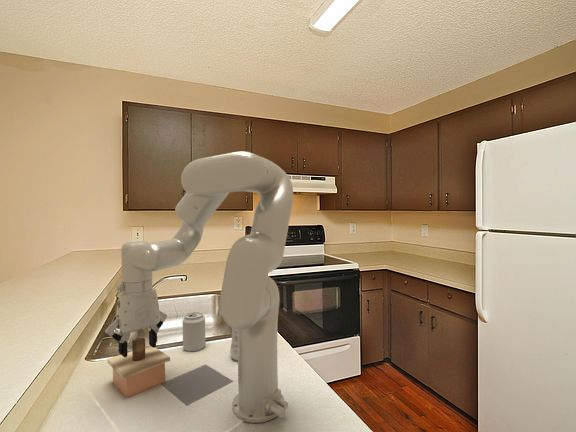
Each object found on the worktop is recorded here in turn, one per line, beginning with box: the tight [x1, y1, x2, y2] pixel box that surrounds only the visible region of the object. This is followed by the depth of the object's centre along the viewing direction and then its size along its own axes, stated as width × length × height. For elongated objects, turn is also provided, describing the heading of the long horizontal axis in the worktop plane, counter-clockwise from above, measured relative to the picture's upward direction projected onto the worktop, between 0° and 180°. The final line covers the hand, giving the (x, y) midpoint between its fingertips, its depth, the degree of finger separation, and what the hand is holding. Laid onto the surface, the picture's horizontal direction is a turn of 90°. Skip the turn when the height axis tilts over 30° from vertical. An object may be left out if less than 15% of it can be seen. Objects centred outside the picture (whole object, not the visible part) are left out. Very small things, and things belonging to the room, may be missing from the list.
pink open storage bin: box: [112, 363, 166, 398], centre depth 84 cm, size 10×10×6 cm
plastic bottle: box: [229, 328, 238, 362], centre depth 97 cm, size 6×7×20 cm
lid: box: [107, 337, 171, 379], centre depth 84 cm, size 12×12×6 cm
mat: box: [160, 364, 234, 406], centre depth 83 cm, size 14×14×1 cm
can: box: [182, 311, 206, 352], centre depth 105 cm, size 8×8×12 cm
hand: (138, 350), depth 84 cm, fingers open, 7 cm apart
